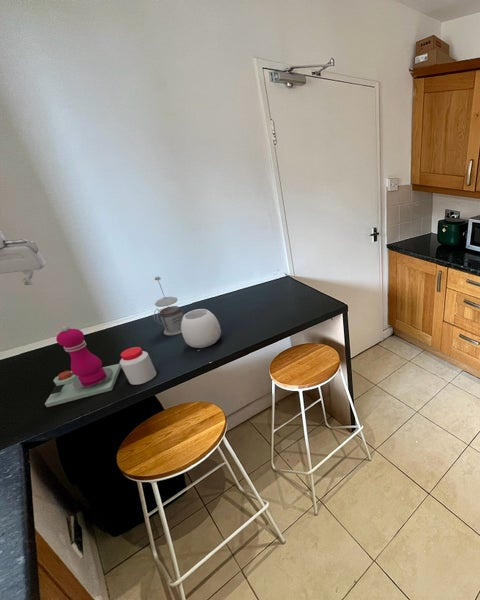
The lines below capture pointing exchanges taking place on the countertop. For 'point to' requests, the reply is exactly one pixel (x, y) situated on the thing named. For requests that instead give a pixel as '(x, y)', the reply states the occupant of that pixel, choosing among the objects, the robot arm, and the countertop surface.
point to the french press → (169, 326)
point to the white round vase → (200, 328)
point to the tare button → (65, 375)
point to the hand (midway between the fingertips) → (8, 286)
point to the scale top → (85, 385)
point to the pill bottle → (137, 366)
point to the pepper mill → (80, 355)
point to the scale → (74, 393)
